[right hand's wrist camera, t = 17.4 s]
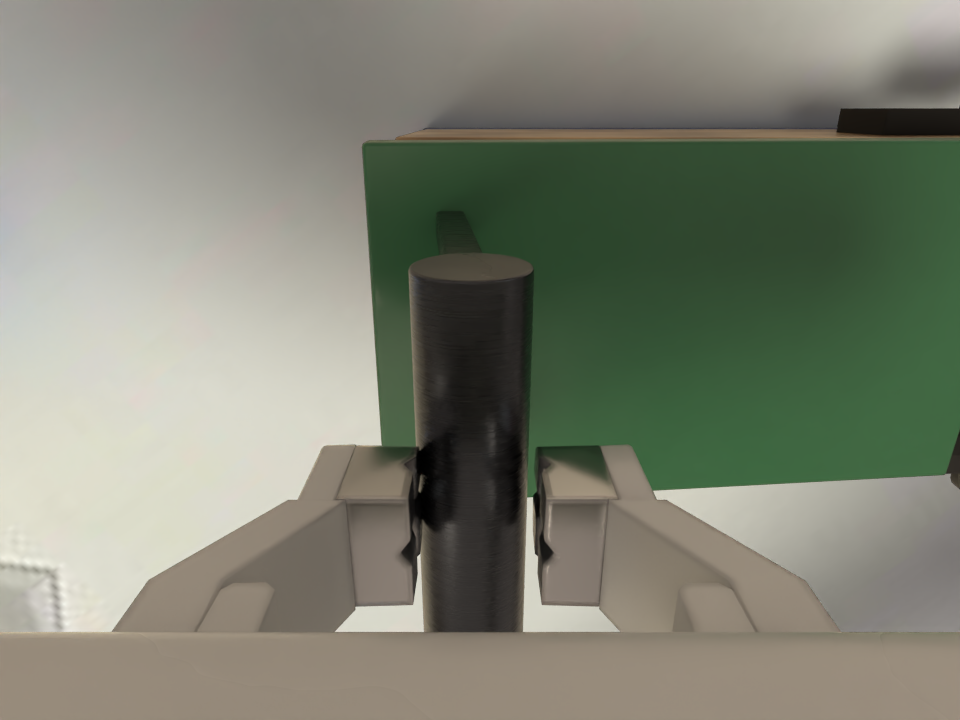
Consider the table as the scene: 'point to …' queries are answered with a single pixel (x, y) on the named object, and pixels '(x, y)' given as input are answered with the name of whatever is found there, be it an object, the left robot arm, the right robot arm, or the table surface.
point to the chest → (638, 133)
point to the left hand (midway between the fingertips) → (825, 288)
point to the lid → (654, 323)
